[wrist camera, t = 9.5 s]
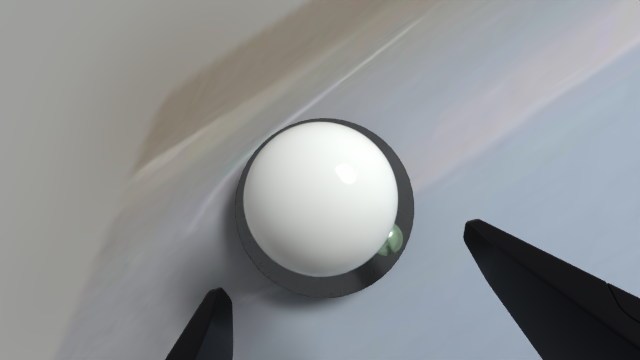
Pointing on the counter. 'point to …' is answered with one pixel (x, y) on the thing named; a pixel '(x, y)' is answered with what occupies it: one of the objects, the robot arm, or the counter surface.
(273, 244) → the lightbulb
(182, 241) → the counter surface
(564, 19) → the counter surface
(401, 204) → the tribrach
